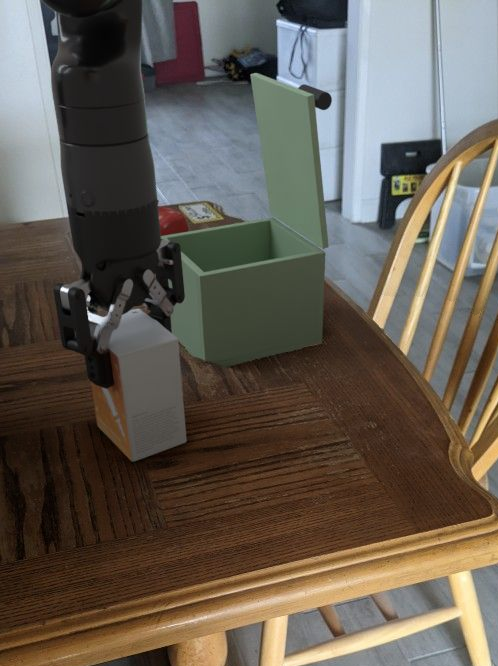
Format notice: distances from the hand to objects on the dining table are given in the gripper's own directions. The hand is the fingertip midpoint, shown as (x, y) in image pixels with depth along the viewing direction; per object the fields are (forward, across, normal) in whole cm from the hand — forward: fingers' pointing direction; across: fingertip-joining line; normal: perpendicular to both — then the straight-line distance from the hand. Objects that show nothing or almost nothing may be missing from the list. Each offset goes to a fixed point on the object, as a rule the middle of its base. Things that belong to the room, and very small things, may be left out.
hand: (133, 367), depth 75 cm
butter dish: (+9, -42, -34) cm, 55 cm away
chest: (+9, -26, -6) cm, 28 cm away
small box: (+9, 0, 0) cm, 9 cm away
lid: (-11, -31, -3) cm, 34 cm away
